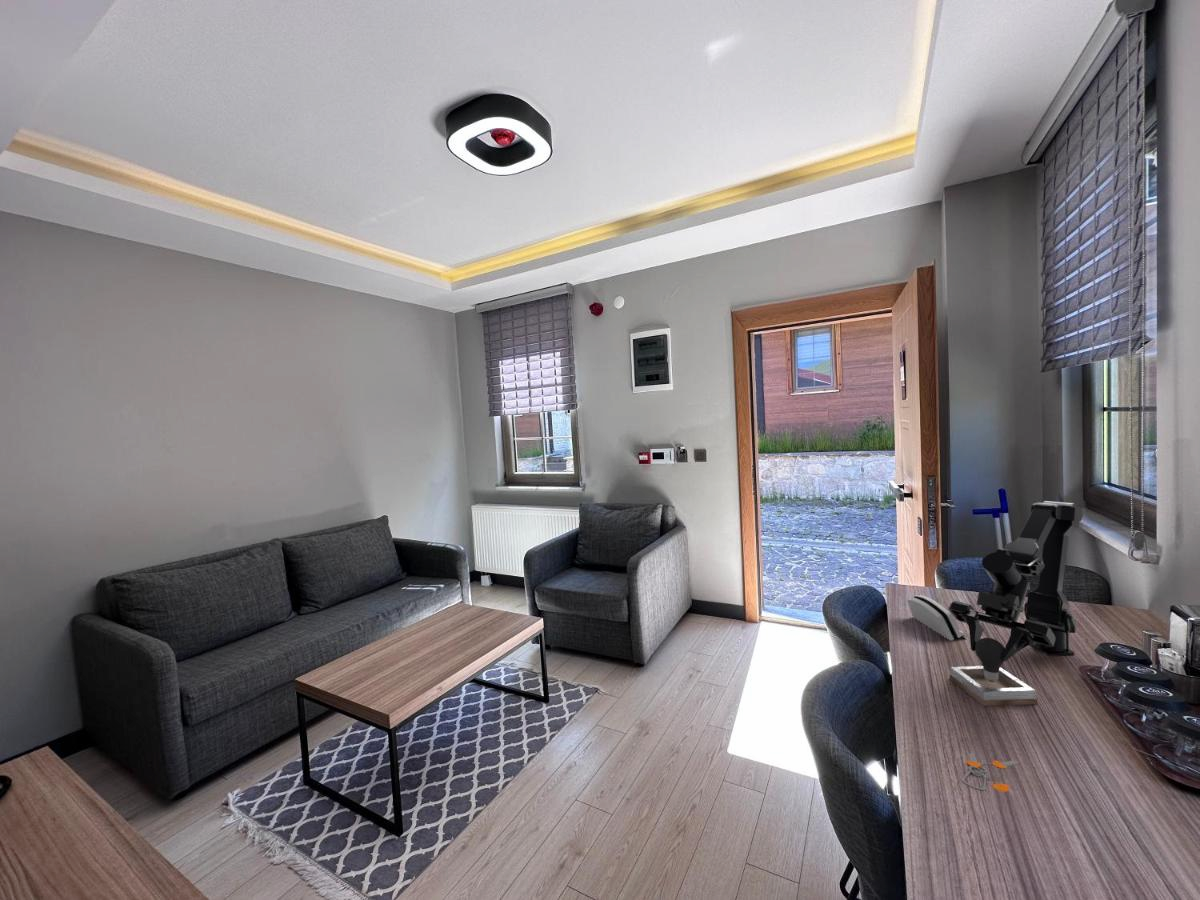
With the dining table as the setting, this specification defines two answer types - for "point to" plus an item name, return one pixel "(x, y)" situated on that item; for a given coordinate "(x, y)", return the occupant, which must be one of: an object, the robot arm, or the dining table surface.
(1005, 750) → the dining table surface
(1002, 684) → the socket board
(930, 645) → the dining table surface
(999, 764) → the key chain
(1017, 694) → the socket collar
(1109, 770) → the dining table surface
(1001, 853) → the dining table surface
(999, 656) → the light bulb
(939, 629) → the white arched casing
